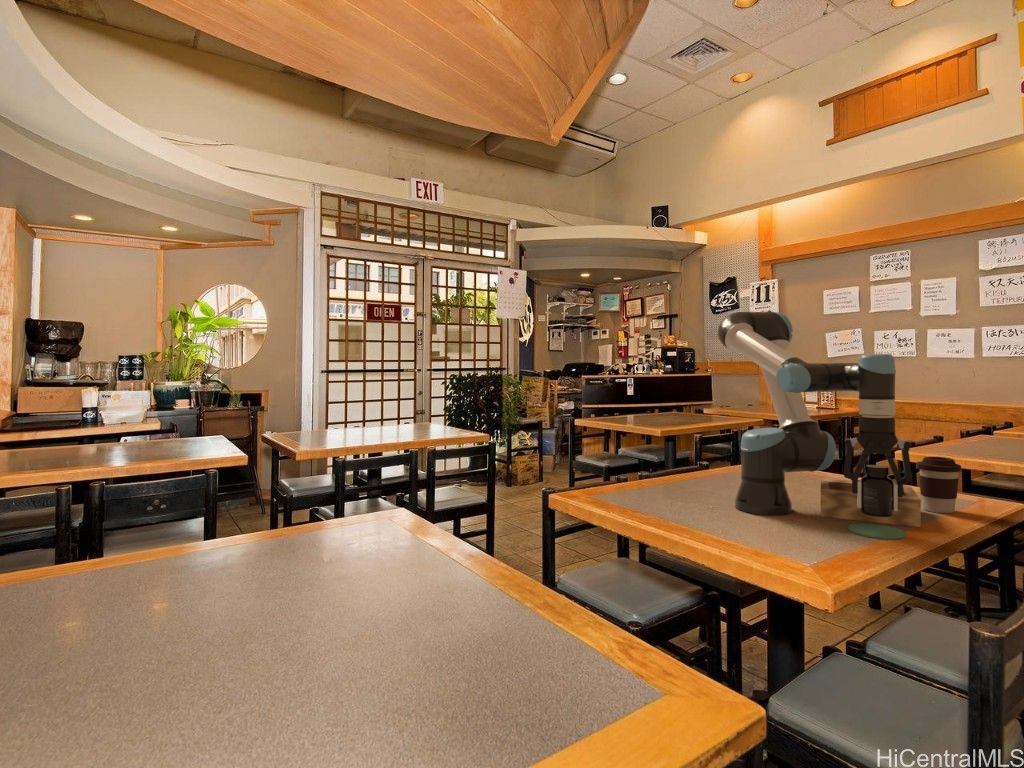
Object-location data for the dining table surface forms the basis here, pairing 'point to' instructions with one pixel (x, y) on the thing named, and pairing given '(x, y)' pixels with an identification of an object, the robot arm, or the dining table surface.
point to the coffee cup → (938, 483)
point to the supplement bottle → (877, 492)
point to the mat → (876, 531)
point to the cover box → (844, 505)
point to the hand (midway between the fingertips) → (876, 508)
